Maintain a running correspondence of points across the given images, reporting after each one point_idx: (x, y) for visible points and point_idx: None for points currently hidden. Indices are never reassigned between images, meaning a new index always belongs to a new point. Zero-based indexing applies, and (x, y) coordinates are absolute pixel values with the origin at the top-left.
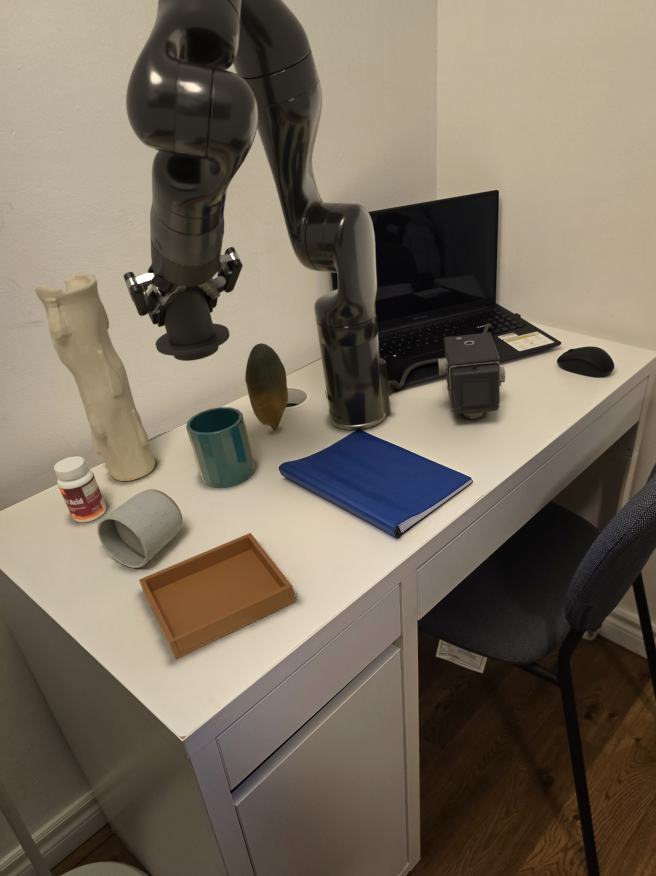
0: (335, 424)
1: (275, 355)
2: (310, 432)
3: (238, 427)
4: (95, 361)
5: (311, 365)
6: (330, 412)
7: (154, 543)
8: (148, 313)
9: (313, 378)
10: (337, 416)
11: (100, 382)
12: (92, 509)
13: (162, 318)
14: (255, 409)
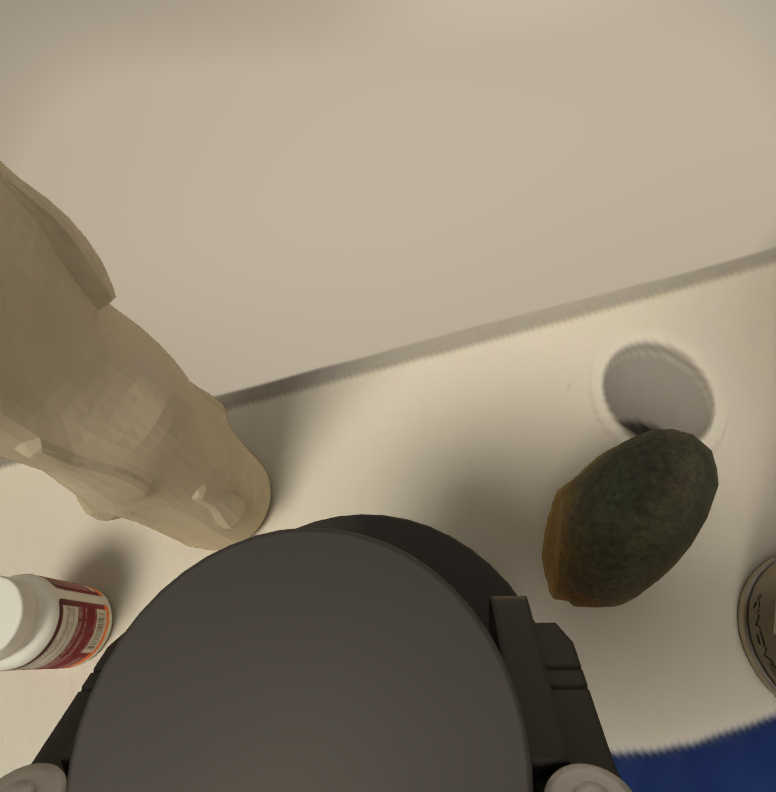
0: (747, 649)
1: (710, 501)
2: (665, 622)
3: None
4: (17, 461)
5: (770, 271)
6: (757, 619)
7: None
8: (102, 663)
9: (756, 340)
10: (771, 664)
11: (64, 479)
12: (58, 667)
13: None
14: (547, 575)
